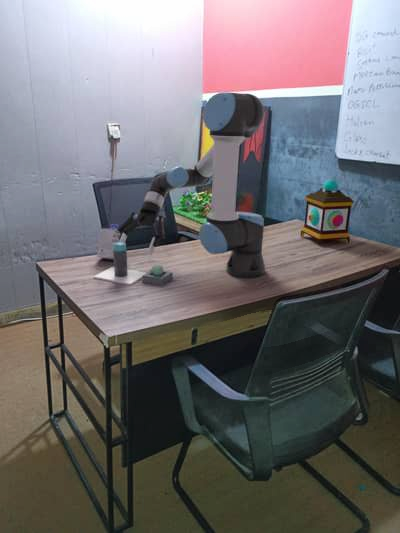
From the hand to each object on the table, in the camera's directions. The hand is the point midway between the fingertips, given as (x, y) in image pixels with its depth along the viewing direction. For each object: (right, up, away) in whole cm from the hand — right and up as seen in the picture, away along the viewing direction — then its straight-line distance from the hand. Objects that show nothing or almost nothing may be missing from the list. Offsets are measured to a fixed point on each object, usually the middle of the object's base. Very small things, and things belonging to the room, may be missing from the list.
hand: (134, 251), depth 167 cm
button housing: (+10, -11, -8) cm, 17 cm away
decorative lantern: (+87, +7, +48) cm, 100 cm away
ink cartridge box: (-12, -3, +11) cm, 16 cm away
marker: (-4, -9, -5) cm, 11 cm away
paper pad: (-4, -10, -5) cm, 12 cm away
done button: (+10, -9, -9) cm, 16 cm away
